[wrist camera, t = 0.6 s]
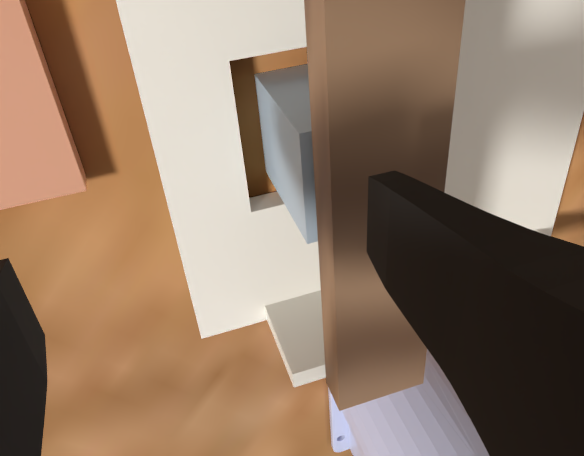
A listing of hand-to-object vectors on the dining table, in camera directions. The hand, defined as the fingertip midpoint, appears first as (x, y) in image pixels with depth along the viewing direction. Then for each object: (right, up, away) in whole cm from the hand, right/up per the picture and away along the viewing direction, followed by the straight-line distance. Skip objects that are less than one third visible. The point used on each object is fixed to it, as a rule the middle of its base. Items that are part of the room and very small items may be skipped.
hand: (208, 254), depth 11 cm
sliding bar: (+4, +2, +6) cm, 7 cm away
